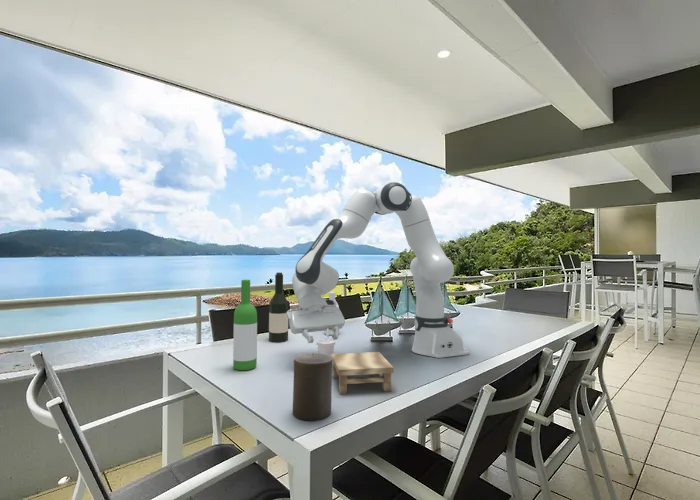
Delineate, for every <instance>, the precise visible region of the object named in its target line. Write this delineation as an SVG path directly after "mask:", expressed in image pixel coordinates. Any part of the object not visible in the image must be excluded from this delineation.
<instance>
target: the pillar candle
mask: <svg viewBox="0 0 700 500" xmlns="http://www.w3.org/2000/svg"><path fill="white" fill-rule="evenodd" d="M293 359H294V360H293V386H292V387H293V391H292V415H293V416H294V417H295V418H297V419H298V420H304V421H311V422H312V421H313V422H315V421H320V420H324V419H326V418H328V417H330V415H331V414H332V395H333V393H332V390H333V389H332V385H333V384H332V383H333V362H332V357H331V356H329V355H326V354H320V353H318V352H315V353H314V352H309V353H308V352H307V353H301V354H298V355H296V356H294V358H293Z"/></svg>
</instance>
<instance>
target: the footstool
mask: <svg viewBox="0 0 700 500" xmlns="http://www.w3.org/2000/svg"><path fill="white" fill-rule="evenodd" d="M331 357H332V379H338V393H339V394H340V395H346V394H347V393H348V385H349V384H350V385H352V384H368V383H369V384H370V383H382V387H381V389H382V390H383V391H384V392H391V391H392V374H394V366H393V365H392V364H391V363H390V362H389V361H388V360H387V359H386V358H385V357H384V356H383V355H382V353H381V352H380V351H372V352H370V351H367V352H345V353H340V352H339V353H333V354H331ZM380 374H381V376H380ZM355 375H356V376H358V375H372V376H366V377H365V376H364V377H348V376H355Z"/></svg>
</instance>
